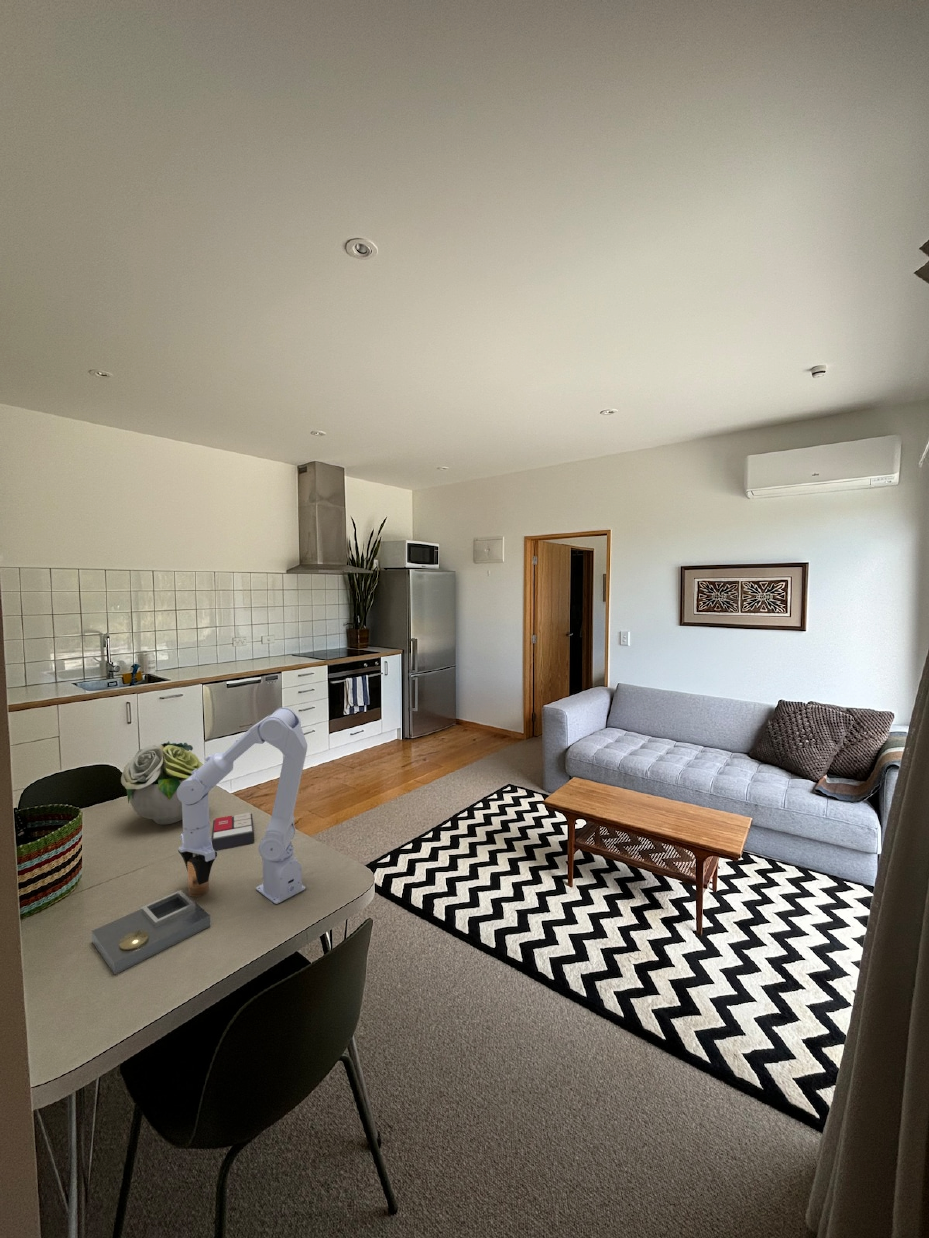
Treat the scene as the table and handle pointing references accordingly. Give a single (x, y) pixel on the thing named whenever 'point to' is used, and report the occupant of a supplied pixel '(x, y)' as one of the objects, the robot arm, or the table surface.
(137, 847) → the table surface
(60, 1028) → the table surface
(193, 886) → the copper cylinder
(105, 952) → the grey peg holder base
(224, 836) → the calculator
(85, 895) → the table surface
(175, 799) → the flower arrangement
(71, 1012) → the table surface
